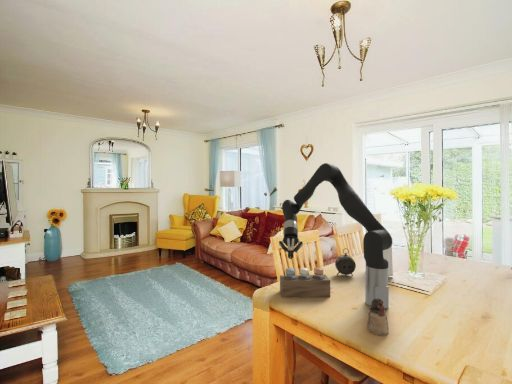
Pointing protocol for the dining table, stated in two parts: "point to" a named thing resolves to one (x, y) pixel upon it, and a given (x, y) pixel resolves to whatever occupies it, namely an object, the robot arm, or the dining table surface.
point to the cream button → (304, 271)
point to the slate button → (290, 271)
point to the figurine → (377, 318)
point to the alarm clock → (345, 264)
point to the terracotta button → (318, 271)
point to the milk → (388, 256)
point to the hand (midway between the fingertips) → (290, 258)
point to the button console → (305, 286)
